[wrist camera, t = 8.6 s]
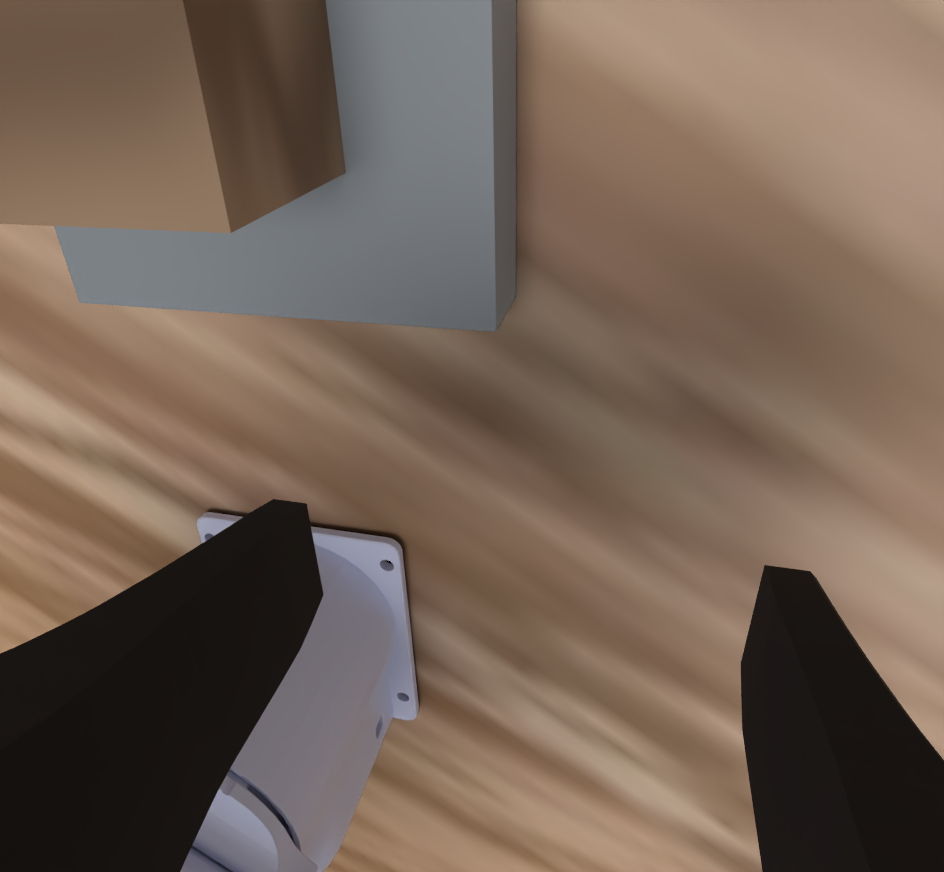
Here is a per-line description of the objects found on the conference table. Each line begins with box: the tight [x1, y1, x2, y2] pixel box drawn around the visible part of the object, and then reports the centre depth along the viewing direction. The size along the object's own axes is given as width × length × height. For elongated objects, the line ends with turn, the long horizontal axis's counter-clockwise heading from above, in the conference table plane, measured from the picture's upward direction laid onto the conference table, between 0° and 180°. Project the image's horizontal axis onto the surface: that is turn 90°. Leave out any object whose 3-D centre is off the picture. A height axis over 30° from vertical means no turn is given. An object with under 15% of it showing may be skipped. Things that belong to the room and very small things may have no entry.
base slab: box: [54, 0, 516, 332], centre depth 17 cm, size 12×12×2 cm
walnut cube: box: [0, 0, 346, 233], centre depth 13 cm, size 5×5×5 cm
